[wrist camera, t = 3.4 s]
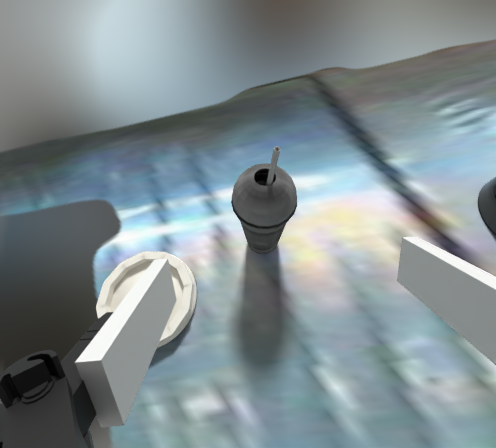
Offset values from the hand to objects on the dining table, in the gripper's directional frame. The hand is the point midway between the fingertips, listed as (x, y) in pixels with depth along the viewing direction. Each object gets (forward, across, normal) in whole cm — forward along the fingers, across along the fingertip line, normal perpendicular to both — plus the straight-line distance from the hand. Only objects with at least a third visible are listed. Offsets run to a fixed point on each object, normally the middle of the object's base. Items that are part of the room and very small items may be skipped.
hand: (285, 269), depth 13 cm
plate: (+17, -16, -12) cm, 26 cm away
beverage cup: (+22, 0, -7) cm, 23 cm away
